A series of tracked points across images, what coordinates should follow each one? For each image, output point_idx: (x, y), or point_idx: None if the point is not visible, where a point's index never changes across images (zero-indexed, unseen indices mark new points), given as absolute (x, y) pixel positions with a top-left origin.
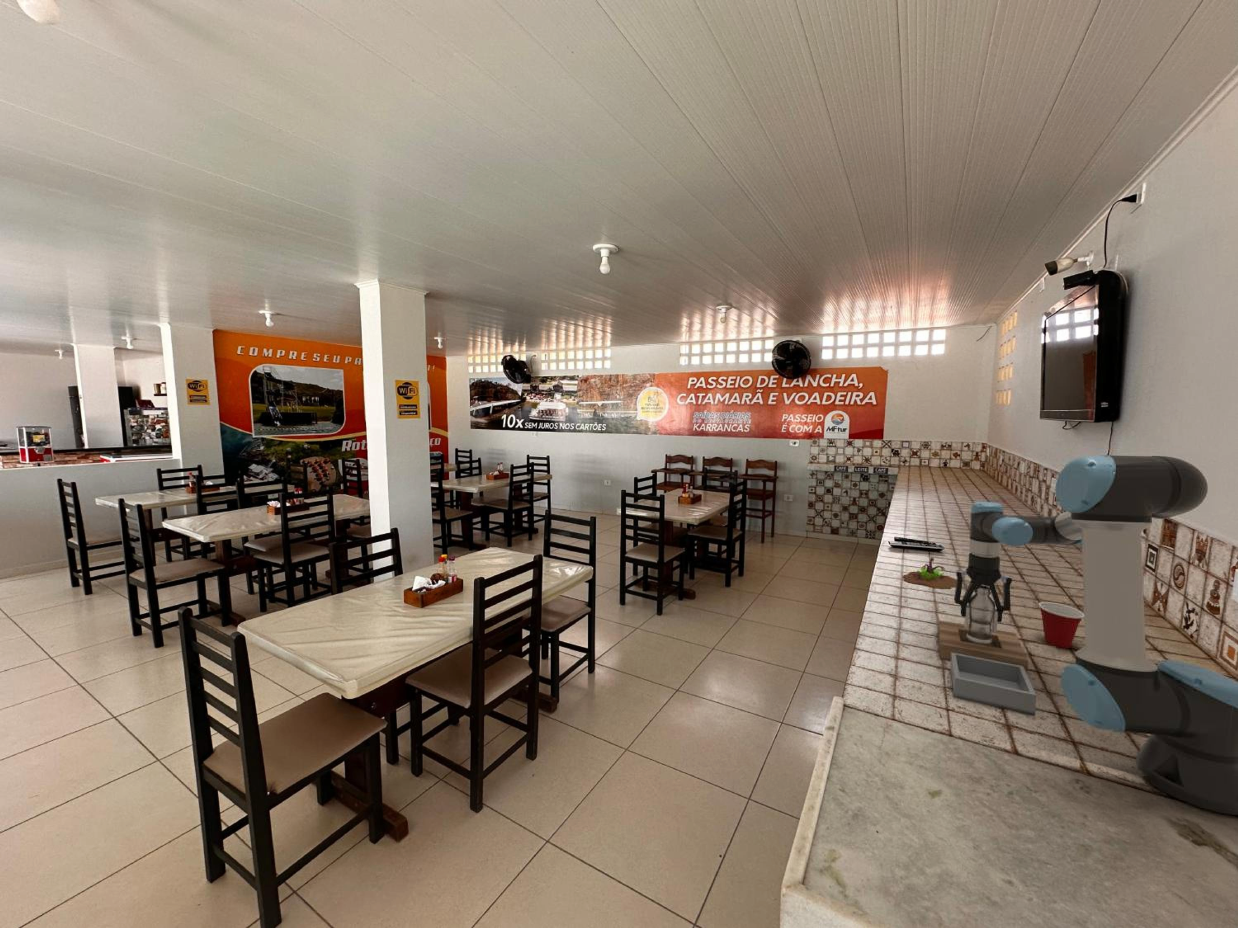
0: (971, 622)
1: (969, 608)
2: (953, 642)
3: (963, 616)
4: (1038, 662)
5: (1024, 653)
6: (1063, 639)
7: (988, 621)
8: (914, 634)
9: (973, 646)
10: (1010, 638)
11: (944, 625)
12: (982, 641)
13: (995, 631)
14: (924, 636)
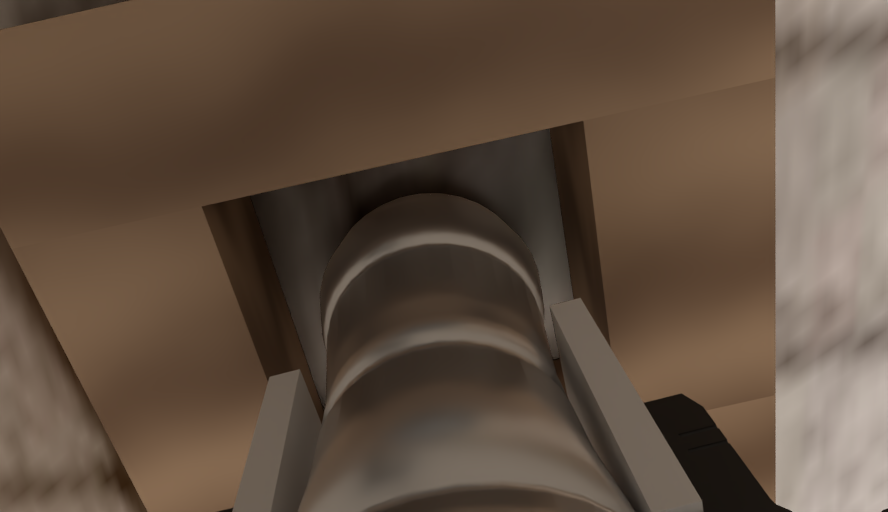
0: (541, 364)
1: (649, 505)
2: (649, 19)
3: (661, 398)
4: (40, 381)
5: (8, 230)
6: None
7: (340, 418)
8: (881, 291)
9: (452, 55)
10: (211, 504)
11: (729, 427)
12: (392, 241)
13: (278, 387)
14: (809, 304)
